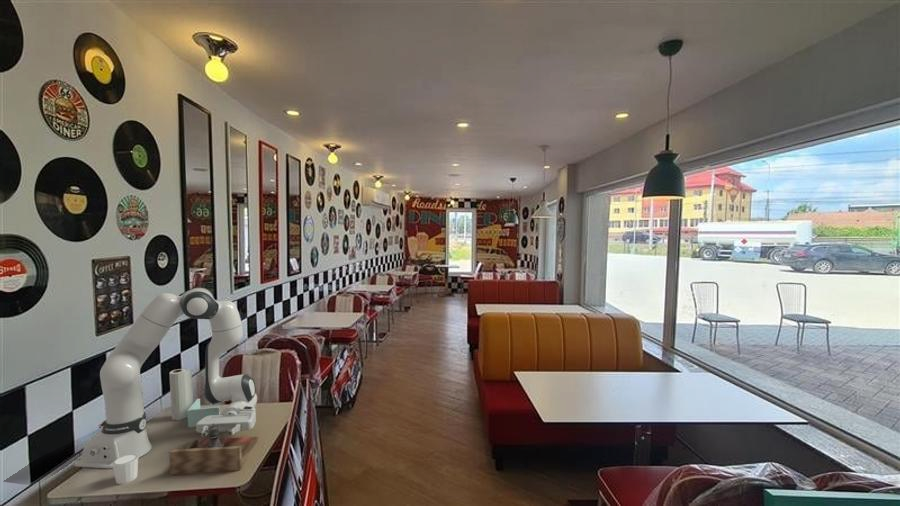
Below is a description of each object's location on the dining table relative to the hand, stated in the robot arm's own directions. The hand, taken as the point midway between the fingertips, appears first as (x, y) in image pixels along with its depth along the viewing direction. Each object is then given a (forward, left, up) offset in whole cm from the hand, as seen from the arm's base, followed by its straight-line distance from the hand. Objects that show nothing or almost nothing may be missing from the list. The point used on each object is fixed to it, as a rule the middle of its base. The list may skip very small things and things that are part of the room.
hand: (217, 433), depth 149 cm
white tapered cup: (-25, -10, -9) cm, 28 cm away
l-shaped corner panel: (-18, +31, -9) cm, 37 cm away
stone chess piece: (0, -1, -8) cm, 8 cm away
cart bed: (0, +2, -9) cm, 9 cm away
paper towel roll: (-31, +34, -9) cm, 47 cm away
